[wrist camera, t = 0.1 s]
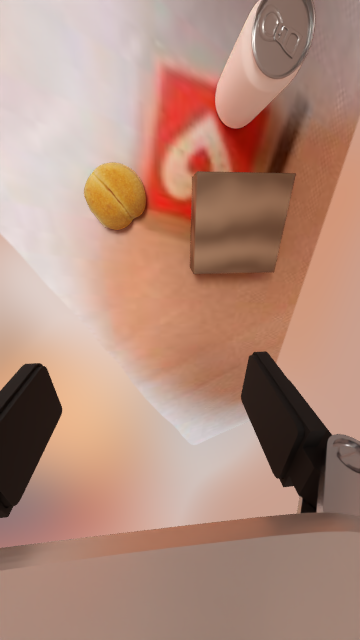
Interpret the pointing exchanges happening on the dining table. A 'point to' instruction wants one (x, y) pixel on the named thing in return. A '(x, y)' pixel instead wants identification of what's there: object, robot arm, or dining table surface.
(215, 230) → the block
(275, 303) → the dining table surface
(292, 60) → the can
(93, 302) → the dining table surface
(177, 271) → the dining table surface
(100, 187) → the bread roll
